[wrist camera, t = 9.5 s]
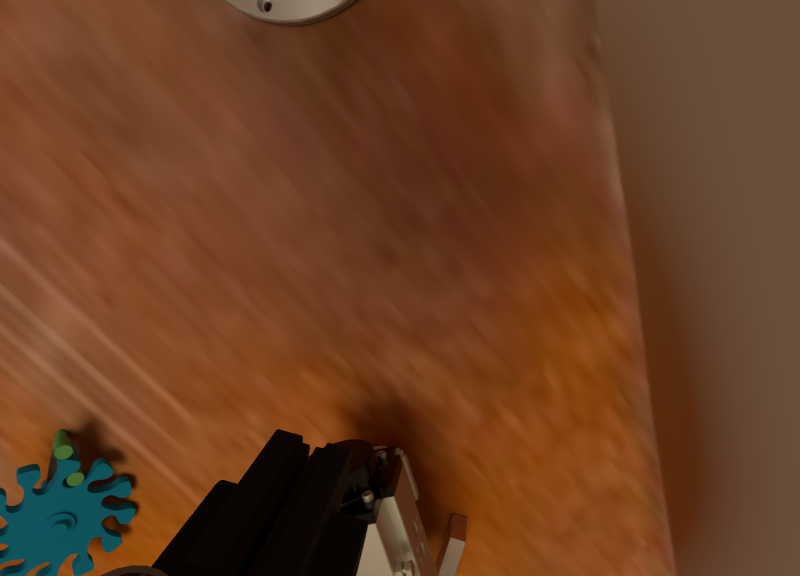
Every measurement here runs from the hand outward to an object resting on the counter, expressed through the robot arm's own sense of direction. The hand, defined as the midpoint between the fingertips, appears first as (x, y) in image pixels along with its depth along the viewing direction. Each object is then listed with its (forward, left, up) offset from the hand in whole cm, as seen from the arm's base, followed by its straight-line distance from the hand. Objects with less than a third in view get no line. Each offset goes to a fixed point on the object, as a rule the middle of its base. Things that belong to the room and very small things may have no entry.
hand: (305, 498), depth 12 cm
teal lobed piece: (+23, -20, -24) cm, 39 cm away
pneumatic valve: (+14, +2, -24) cm, 28 cm away
